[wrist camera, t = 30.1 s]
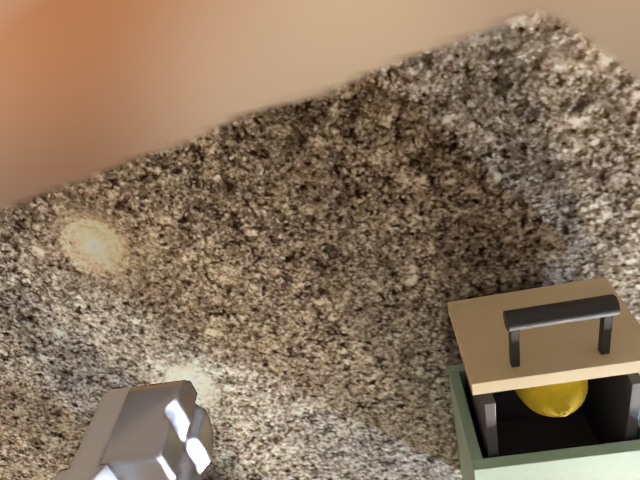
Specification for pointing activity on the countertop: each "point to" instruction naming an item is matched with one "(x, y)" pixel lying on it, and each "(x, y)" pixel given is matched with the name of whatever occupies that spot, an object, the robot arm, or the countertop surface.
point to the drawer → (549, 365)
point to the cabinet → (538, 467)
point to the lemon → (555, 398)
